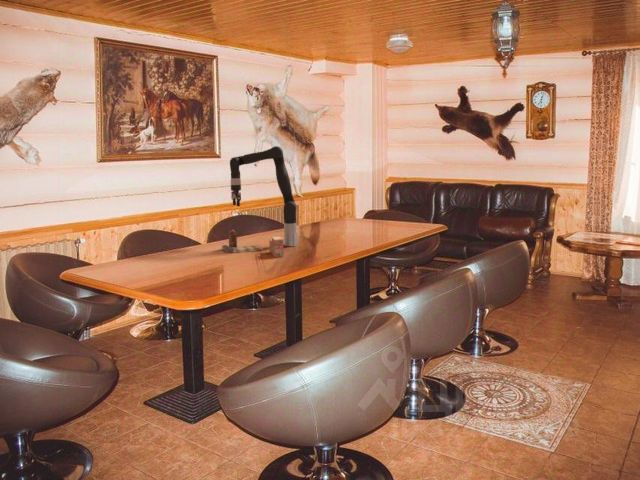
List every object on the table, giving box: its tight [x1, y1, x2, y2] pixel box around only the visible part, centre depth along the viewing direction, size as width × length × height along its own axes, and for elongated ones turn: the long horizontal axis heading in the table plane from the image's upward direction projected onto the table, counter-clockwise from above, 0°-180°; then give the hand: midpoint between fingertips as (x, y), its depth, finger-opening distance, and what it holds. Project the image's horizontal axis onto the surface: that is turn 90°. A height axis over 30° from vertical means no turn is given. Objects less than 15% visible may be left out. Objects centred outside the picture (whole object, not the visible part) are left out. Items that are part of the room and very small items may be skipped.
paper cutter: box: [221, 244, 264, 254], centre depth 443 cm, size 25×17×3 cm
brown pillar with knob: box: [228, 229, 238, 248], centre depth 444 cm, size 4×4×14 cm
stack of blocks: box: [268, 236, 285, 258], centre depth 426 cm, size 21×6×12 cm, turn 14°
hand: (236, 205), depth 457 cm, fingers open, 8 cm apart
